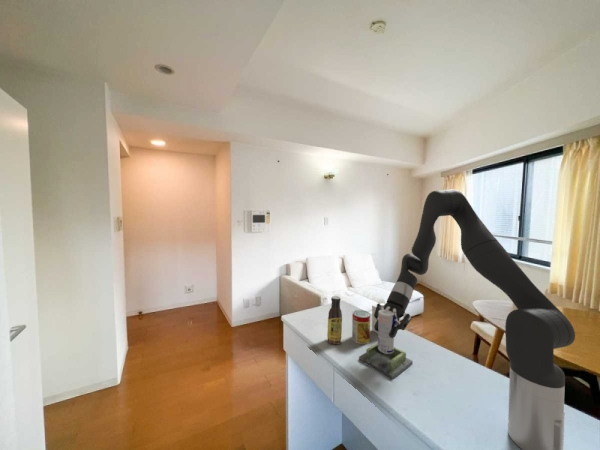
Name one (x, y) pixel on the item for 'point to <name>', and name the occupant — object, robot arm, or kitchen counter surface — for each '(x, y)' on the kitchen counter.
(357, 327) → the canned food
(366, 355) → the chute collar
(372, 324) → the supplement box
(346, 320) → the kitchen counter surface
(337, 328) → the sauce bottle
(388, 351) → the beverage can
